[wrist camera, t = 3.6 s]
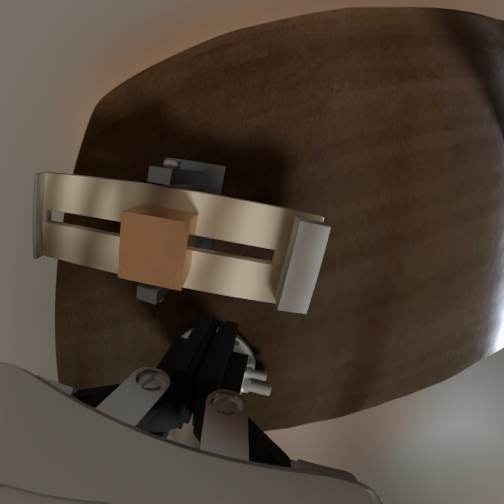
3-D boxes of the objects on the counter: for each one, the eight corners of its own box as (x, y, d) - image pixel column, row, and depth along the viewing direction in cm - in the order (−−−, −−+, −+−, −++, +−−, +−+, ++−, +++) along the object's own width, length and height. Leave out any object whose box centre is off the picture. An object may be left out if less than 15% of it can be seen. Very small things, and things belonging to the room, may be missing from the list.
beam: (321, 215, 28) (332, 222, 25) (298, 302, 31) (304, 318, 28) (48, 172, 25) (30, 174, 22) (45, 251, 28) (28, 260, 25)
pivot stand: (227, 166, 34) (202, 161, 23) (206, 285, 38) (179, 321, 28) (169, 157, 34) (127, 151, 24) (153, 271, 38) (115, 300, 28)
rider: (200, 212, 28) (190, 222, 22) (191, 267, 29) (181, 290, 23) (144, 202, 27) (122, 211, 21) (139, 257, 29) (117, 277, 23)
